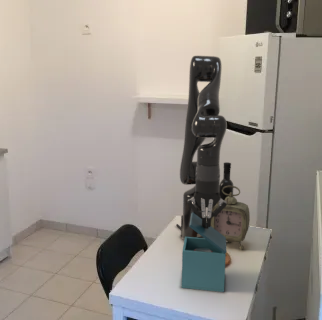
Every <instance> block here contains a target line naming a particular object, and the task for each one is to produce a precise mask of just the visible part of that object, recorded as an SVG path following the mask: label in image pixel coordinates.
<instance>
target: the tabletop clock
mask: <svg viewBox="0 0 322 320" xmlns="http://www.w3.org/2000/svg"><path fill="white" fill-rule="evenodd" d="M226 187H233V189H236V190H238V192H237V193H236V194H235V193H233V194H232V192H230V194H227V193H225V192H223V189H224V188H226ZM223 189H222V192H223V193H224V194H225V195H227V196H228V197H226V198H225V201H226V203H227V205H226V206H225V208H224V209H223V210H222V211H221V212H220V213H219V214H218V215H217V216H216V217H212V218H211V227H213V228H214V229H215V230H217V231H218V232H219V233H221V234H222V235H223V236H224V237H226V242H227V244H228V243H229V244H231V243H238V244H239V246H238V249H239V250H244V246H243V245H242V242H244V241H245V239H246V236H247V235H248V231H249V227H250V220H251V217H250V214H251V213H250V208H249V205H248V204H247V203H244V202H240V201H238V200H237V198H236V197H238V196H239V195H240V194H241V189H240V187H238V186H235V185H233V186H225V187H223ZM232 196H233V197H232ZM218 206H219V202H218V203H217V204H216V205H215V206H214V207H213V208H212V212H213V211H214V210H215V209H216V208H217V207H218Z"/></svg>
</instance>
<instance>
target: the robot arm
mask: <svg viewBox="0 0 322 320" xmlns="http://www.w3.org/2000/svg"><path fill="white" fill-rule="evenodd" d="M222 70H223V69H222V61H221V58H220V57H218V56H214V55H193V56H192V57H191V59H190V63H189V72H188V73H189V74H188V75H189V76H188V97H187V108H186V114H185V115H186V116H185V123H184V140H183V149H182V154H181V159H180V160H181V161H180V166H179V181H180V183H181V184H182V185H186V186H189V185H191V186H192V185H194V186H193V187H191V188H190V189H187V190H185V191H184V192H183V194H182V195H183V196H182V215H181V216H180V224H178V223H176V227H177V229H179V230H180V237H181V239H182V241H184V239H185V237H196V238H204V237H202V236H201V235H200V234H198V233H197V232H196V231H194V230H193V229H192V228H191V227H189V225H190V219H191V214H192V212H193V213H194V214H196V215H197V216H198V217H200V218H201V219H202V227H204V228H206V229H208V227H210V226H211V218H212V217H216V216H217V215H218V214H219V213H220V212H221V211H222V210H223V209H224V208H225V206H226V205H227V203H226V201H225V200H222V199H221V196H220V194H219V185H220V182H221V181H220V180H221V168H220V157H221V148H222V144H223V140H224V137H225V135H226V131H227V128H228V123H227V121H228V120H227V119H226V118H225V116H223V115H221V114H220V111H221V110H220V109H221V108H220V89H221V82H222ZM198 83H208V84H207V85H205V86H204V87H203V88H202V89H201V91H200V90H199V87H198ZM213 138H214V139H213ZM206 139H213V140H212V141H211V142H209V143H205V144H204V142H205V140H206ZM196 153H197V154H196ZM195 155H196V160H195V161H193V160H194V157H195ZM218 202H219V206H218V207H217V208H216V209H215V210H214V211H213V212H212V208H213V207H214V206H215V205H216V204H217V203H218Z"/></svg>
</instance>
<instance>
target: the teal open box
mask: <svg viewBox="0 0 322 320" xmlns="http://www.w3.org/2000/svg"><path fill="white" fill-rule="evenodd" d="M197 248H207V249H209V250H211V251H212V252H202V251H194V250H195V249H197ZM181 252H182V253H181V254H182V255H181V257H182V258H181V265H182V266H181V289H192V290H198V291H199V290H200V291H209V292H218V293H219V292H221V293H225V281H226V279H225V277H226V258H227V257H226V255H227V252H226V253H225V254H224V253H223V252H222V251H220V250H219V249H218V248H217V247H215V246H214V245H213V244H211V243H210V242H209V241H207V240H206V239H205V238H196V237H185V239H184V240H183V245H182V251H181Z"/></svg>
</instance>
